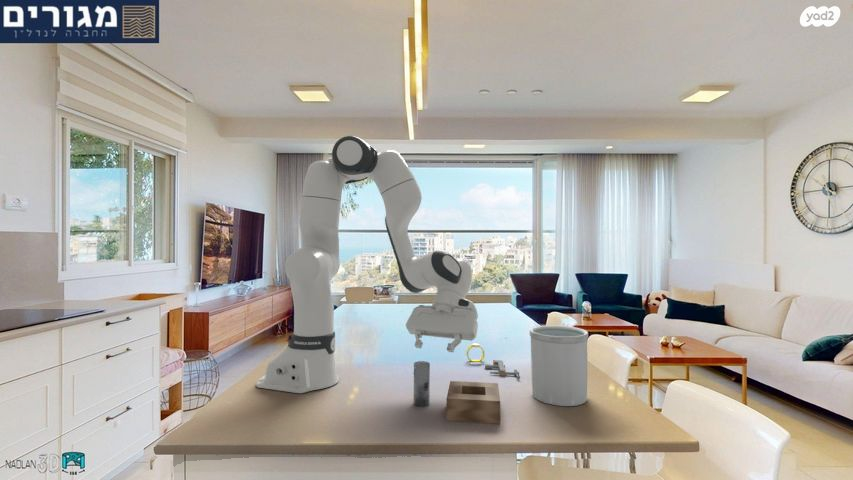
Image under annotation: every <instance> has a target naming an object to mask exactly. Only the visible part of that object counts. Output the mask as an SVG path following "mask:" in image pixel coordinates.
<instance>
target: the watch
mask: <svg viewBox="0 0 853 480" xmlns="http://www.w3.org/2000/svg"><path fill="white" fill-rule="evenodd" d="M472 348H479V349H481V351H482V355H481V357H479V359H471V358H470V356H469V352H470V350H471V349H472ZM466 356H467V359H468V360H469V361H470V362H471V363H473V362H474V363H475V362H476V363H481V361H483V359H484V357H485V350H484V348H483V347H482V346H481V345H480V344H479V343H477V342H476V343H471V345H470V346H469V347H468V348H467V349H466Z"/></svg>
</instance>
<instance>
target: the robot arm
mask: <svg viewBox="0 0 853 480" xmlns="http://www.w3.org/2000/svg"><path fill="white" fill-rule="evenodd" d="M332 147H333V148H332V151H331V159H329V160H316V161H314V162H312V163H311V164H309V166H308V168H307V171H306V173H305V178H304V182H303V185H302V186H303V187H302V193H301V200H300V201H301V202H300V211H299V212H300V213H299V222H298V223H299V227H300V231H301V240H302V247H300V248H298V249H297V250H295V251H293V252H292V253H291V254H290V255H288V257H287V259H286V261H285V265H284V271H285V275H286V276H287V279H288V281H289V285H290V291H291V295H292V301H293V313H294V314H293V332H292V333H291V334H290V335H288V336H287V337H285V338H284V339H285V342H286V343H287V346H286V347H285V348H284V349H282V350H280V352H278V354H276V355H275V356H273V357H272V358H271V359H270V360H269V361H268V364H267V365H266V369H265V374H264V375H263V376H261V377H260V378H259V379H258V380H257V381H256V388H261V389H267V390H271V391H272V390H273V391H281V392H287V393H294V394H304V393H307V392H311V391H315V390H322V389H325V388H329V387H332V386H334V385H336V384H338V382H339V381H340V378H339V375H338V372H337V367H336V359H335V350H336V332H335V330H334V328H335V327H334V325H335V323H334V322H335V318H334V317H335V312H334V311H335V305H334V301H333V298H332V294H331V293H332V292H331V285H330V281H332V280H333V278H335V277H336V275H337V274H338V272H339V270H340V266H341V262H340V237H339V226H340V225H339V223H340V214H341V206H342V205H341V204H342V193H343V188H344V186H345V185H348V184H352V183H358V182H362V181H365V180H367V179H368V178H369V179H371V180H372V181H373V182H374V184H375V186H376V188H377V189H378V192H379V193H380V196H381V199H382V201H383V205H384V208H385V209H384V210H385V217H384V224H385V228H386V231H387V232H386V233H387V235H388V238H389V241H390V245H391V248H392V250H393V254H394V256H395V259H396V260H395V261H396V263H397V264H396V265H397V267H398V268H397V269H398V275H399V280H400V282H401V284H402V285H403V287H404V288H405V289H407V290H408V291H409V292H411V293H413V294H419V293H422V292H424V291H426V290H427V289H430V288H432V287H435V288H437V291H436V293H435V296H434V298H433V299H434V300H433V302H432V304H431V305H424V304H420V305H418V306H416V307H414V308H413V310H412V311H411V314H410V316H409V317H408V319H407V321H406V323H405V328H406V330H407V331H408V332H407V333H409V334H410V335H414V336H415V342H414V347H415V348H416V349H422V347H423V344H424V343H423V341H422V339H421V338H423V336H424V337H435V338H442V339H444V338H445V339H453V341H451V342H450V343H449V342H448V343H447V346H446V350H447V352H448V353H454V352H455V349H456V348H457V347H458V346H459V345H460V344H461V343H462V341H463V340H464V341H471V342H472V341H474V340H475V339H476V337H477V333H478V329H479V328H478V327H479V326H478V325H479V324H478V317H479V315H478V310H477V307H476V306H475V304H474V302H473V301H471V300H469V299H466V296H467V295H468V293H469V291H470V288H471V284H472V277H473V271H472V267H471V265H470V264H469V263H468V262H467V261H466V260H464V259H463V258H455V257H454V256H453V255H452V254H450V253H449V252H448V251H446V250H444V249H440V248H439V249H436V250H433V251H430V252H428V253H425V254H423V255H421V256H420V257H417V256H416V255H415V253H414V252H415V251H414V250H413V245H412V243H411V239H410V235H409V233H408V228H409V224H410V223H411V221H412V219H413V217H414V216H415V215H416V213H417V212H418V210H419V209H420V207H421V203H422V199H423V198H422V192H421V189H420V186H419V184H418V182H417V180H416V178H415V176H414V174H413V172H412V170H411V168H410V167H409V165H408V163H407V162H406V160H405V159H404V157H403V156H402V155H401V154H400V153H399V152H398V151H396V150H392V149H391V150H390V149H389V150H388V149H387V150H384V151H381V152H378V150H377V149H376V148H375V147H373V146H372V145H370V144H369V143H368V142H366V141H365V140H364V139H361V138H360V137H357V136H354V135H346V136H343V137H341V138H340V139H338V140H337V141H336V142H335V143H334V145H333V146H332Z"/></svg>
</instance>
